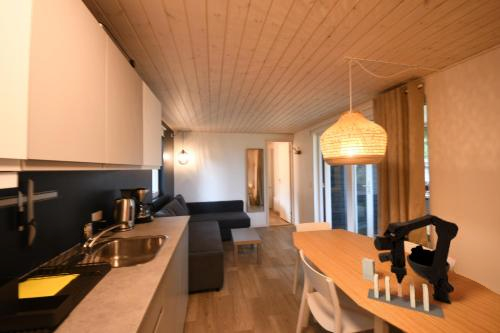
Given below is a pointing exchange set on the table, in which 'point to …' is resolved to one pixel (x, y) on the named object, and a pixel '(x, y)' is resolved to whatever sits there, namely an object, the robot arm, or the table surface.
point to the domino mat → (407, 303)
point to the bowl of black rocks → (421, 260)
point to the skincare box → (368, 269)
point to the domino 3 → (399, 289)
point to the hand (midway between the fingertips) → (399, 280)
